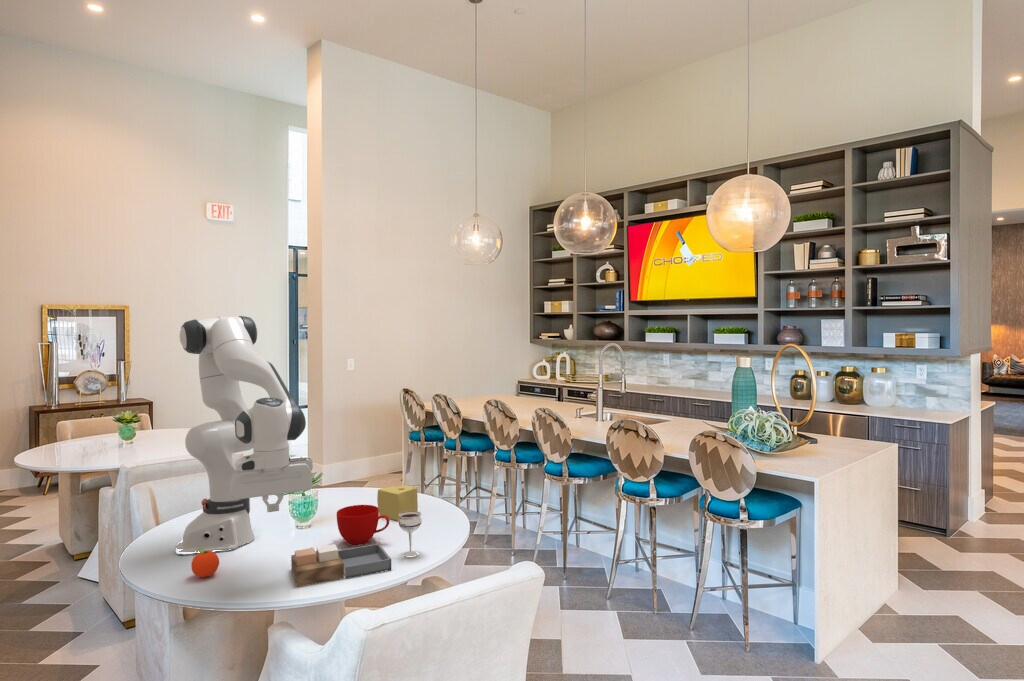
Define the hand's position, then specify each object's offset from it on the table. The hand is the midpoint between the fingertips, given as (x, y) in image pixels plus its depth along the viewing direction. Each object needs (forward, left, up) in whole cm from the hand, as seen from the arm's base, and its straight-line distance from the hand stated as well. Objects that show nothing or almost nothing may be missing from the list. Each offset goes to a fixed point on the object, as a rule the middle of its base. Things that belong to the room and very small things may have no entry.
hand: (273, 511), depth 163 cm
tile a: (+14, 0, -15) cm, 20 cm away
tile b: (+8, 0, -15) cm, 17 cm away
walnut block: (+11, 0, -19) cm, 22 cm away
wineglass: (+38, +2, -19) cm, 43 cm away
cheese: (+45, +41, -19) cm, 64 cm away
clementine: (-17, +13, -19) cm, 29 cm away
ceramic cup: (+28, +19, -19) cm, 39 cm away
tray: (+24, 0, -19) cm, 30 cm away
